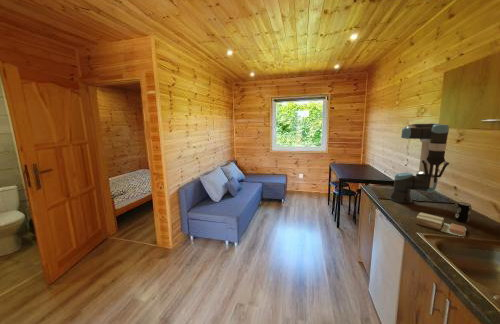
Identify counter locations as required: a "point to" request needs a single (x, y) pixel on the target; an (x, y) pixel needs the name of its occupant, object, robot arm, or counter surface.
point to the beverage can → (463, 212)
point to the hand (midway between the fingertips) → (431, 187)
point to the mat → (446, 229)
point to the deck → (429, 220)
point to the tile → (457, 229)
